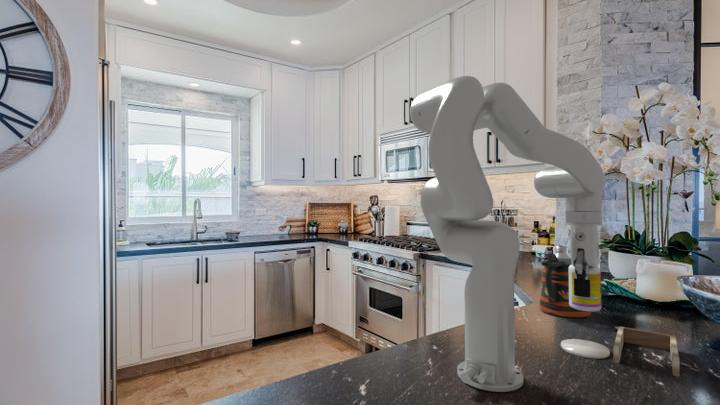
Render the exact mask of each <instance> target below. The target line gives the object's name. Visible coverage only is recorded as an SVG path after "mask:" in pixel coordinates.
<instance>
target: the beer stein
mask: <svg viewBox="0 0 720 405" xmlns="http://www.w3.org/2000/svg"><path fill="white" fill-rule="evenodd" d="M570 265H571V257H570V258H569V259H565V258H557V256H556V255H555V253H552V252H548V253H547V259H545V260H544V261H542V262H541V266H542V267H543V266H544V267H543V269H542V270H543V272H542V276H541V281H542V284H541V293H540V296H539V306H538V308H539V310H540V311H542V312H543V313H546V314H549V315H553V316H556V317H557V316H559V317H563V318H573V319H581V318H588V317H590V316H591V314H592V311H582V310H577V309H574V308H572V307H571V306H570V305H569V266H570Z"/></svg>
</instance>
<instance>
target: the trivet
mask: <svg viewBox="0 0 720 405" xmlns="http://www.w3.org/2000/svg"><path fill="white" fill-rule="evenodd" d="M560 347H561V350H563V351H565V352H566V353H569V354H571V355H572V356H577V357H582V358H585V359H595V360H597V359H599V360H601V359H607V358H609V357H610V355H611V353H610V352H611V350H610V349H609V348H608V347H607V346H605V345H603V344H601V343H598V342H594V341H592V340H585V339H580V338H572V339H571V338H569V339H568V338H567V339H563V340H561V342H560Z"/></svg>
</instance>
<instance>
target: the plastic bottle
mask: <svg viewBox="0 0 720 405" xmlns="http://www.w3.org/2000/svg"><path fill="white" fill-rule="evenodd" d="M554 251H555V253H554V254H555V255H556V256H557V258H565V259H569V258H571V256H569V254H568V253H567V252H568V250H567V245H555V249H554Z"/></svg>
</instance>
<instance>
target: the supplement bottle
mask: <svg viewBox="0 0 720 405" xmlns="http://www.w3.org/2000/svg"><path fill="white" fill-rule="evenodd" d="M584 257H585V254H584ZM574 262H575V261H574ZM583 266H587V264H583ZM585 271H586V270H585ZM574 272H575V267H574V266H573V265H572V264H571V265H570V266H569V305H570V306H571V307H572V308H574V309H577V310H582V311H590V312H598V311H600V310H602V276H601V275H602V274H601V273H602V270H601V268H600V267H599V265H598V266H597V267H595V268H592V266H589V279H588V280H590V297H581V296H575V295H574ZM585 274H586V272H585Z"/></svg>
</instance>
